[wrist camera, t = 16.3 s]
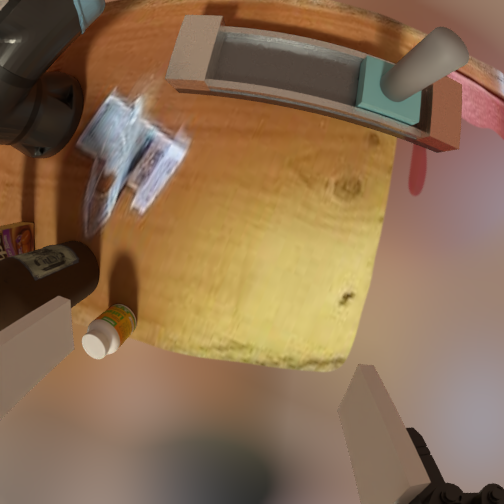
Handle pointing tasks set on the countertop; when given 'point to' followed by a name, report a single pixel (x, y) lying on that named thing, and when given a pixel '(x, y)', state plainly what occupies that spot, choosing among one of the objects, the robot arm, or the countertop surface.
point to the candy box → (16, 239)
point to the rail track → (300, 78)
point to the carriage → (409, 76)
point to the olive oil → (45, 279)
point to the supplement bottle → (109, 331)
